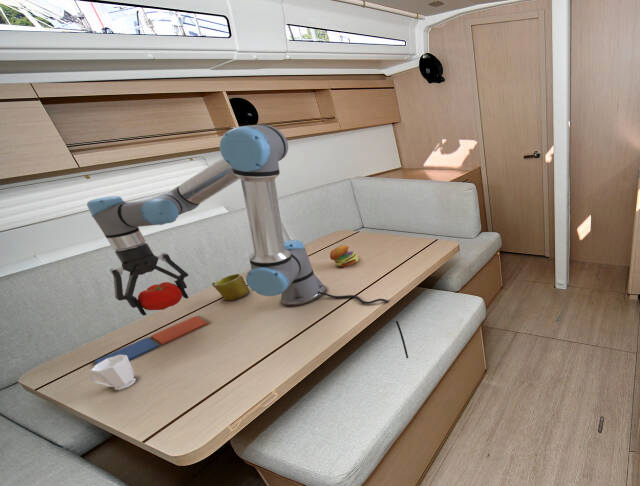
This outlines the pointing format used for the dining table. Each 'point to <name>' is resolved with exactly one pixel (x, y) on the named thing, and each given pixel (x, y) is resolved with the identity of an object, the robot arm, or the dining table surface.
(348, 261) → the cheeseburger
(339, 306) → the dining table surface
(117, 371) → the cup
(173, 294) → the tomato
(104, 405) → the dining table surface
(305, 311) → the dining table surface
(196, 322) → the red mat
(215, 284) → the mug
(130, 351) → the blue mat
